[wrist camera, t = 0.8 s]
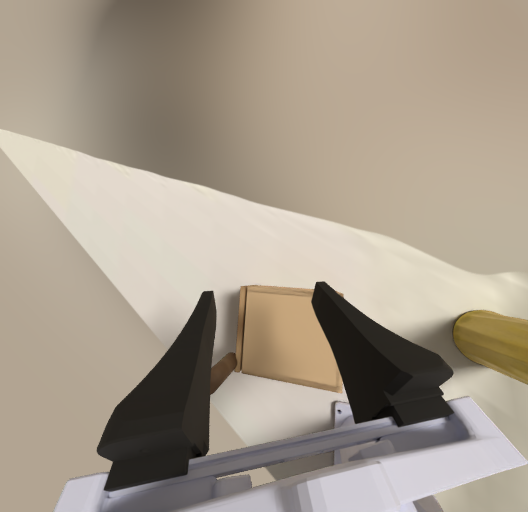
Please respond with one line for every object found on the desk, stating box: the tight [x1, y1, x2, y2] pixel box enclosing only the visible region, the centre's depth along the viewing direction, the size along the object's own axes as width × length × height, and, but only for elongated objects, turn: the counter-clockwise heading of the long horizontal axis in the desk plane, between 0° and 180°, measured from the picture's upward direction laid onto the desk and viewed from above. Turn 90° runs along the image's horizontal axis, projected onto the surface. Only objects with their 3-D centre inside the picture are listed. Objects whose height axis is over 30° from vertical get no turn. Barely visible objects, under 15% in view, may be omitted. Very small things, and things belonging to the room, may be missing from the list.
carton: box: [242, 285, 343, 393], centre depth 24 cm, size 10×11×6 cm
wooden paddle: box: [210, 285, 258, 395], centre depth 23 cm, size 10×2×11 cm, turn 177°
